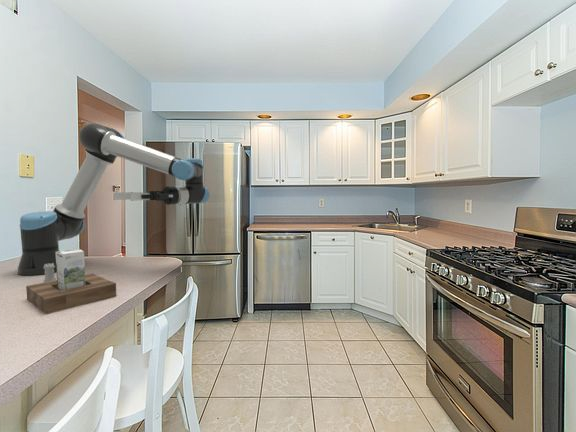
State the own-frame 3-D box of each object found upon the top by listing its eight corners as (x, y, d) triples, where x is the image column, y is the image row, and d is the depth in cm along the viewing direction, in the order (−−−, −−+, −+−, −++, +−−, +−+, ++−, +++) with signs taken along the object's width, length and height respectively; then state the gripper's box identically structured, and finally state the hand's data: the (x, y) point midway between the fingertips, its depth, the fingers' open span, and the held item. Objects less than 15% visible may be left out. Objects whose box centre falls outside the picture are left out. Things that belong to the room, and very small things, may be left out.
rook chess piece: (44, 286, 109) (42, 263, 108) (60, 284, 111) (58, 262, 110) (40, 290, 105) (38, 266, 104) (56, 288, 107) (55, 264, 106)
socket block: (27, 299, 96) (26, 286, 96) (92, 284, 110) (92, 273, 110) (45, 313, 85) (44, 298, 85) (116, 295, 99) (115, 283, 99)
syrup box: (79, 293, 102) (76, 247, 101) (86, 297, 98) (84, 250, 97) (57, 298, 97) (54, 250, 96) (65, 302, 94) (62, 253, 92)
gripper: (192, 205, 127) (139, 208, 110) (159, 203, 142) (108, 205, 126) (192, 186, 126) (138, 186, 109) (158, 186, 142) (107, 186, 125)
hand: (122, 196), depth 118 cm, fingers open, 13 cm apart
